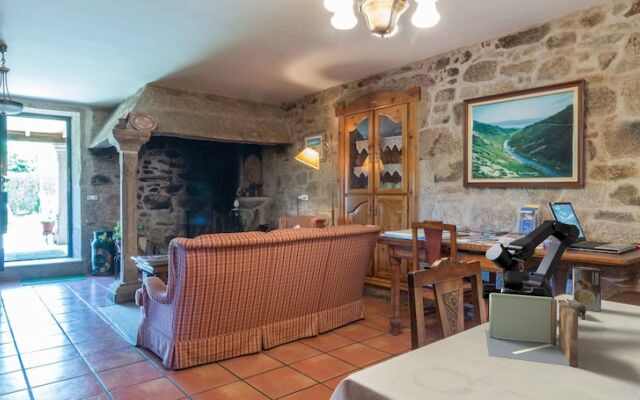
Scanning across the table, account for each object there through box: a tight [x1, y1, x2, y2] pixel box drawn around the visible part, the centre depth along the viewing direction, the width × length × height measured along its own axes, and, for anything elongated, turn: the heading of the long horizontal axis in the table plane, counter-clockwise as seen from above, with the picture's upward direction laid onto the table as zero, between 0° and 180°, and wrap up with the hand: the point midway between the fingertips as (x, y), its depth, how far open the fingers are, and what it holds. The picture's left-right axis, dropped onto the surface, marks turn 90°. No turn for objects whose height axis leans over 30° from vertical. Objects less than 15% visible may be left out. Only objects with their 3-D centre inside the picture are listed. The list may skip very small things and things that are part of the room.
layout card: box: [484, 329, 585, 369], centre depth 120 cm, size 23×22×1 cm
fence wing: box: [488, 293, 558, 344], centre depth 124 cm, size 2×18×14 cm, turn 70°
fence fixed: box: [557, 299, 579, 368], centre depth 112 cm, size 16×2×14 cm, turn 161°
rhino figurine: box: [566, 298, 587, 321], centre depth 153 cm, size 4×14×6 cm, turn 166°
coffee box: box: [572, 266, 602, 313], centre depth 162 cm, size 9×6×16 cm
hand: (514, 317), depth 128 cm, fingers closed
